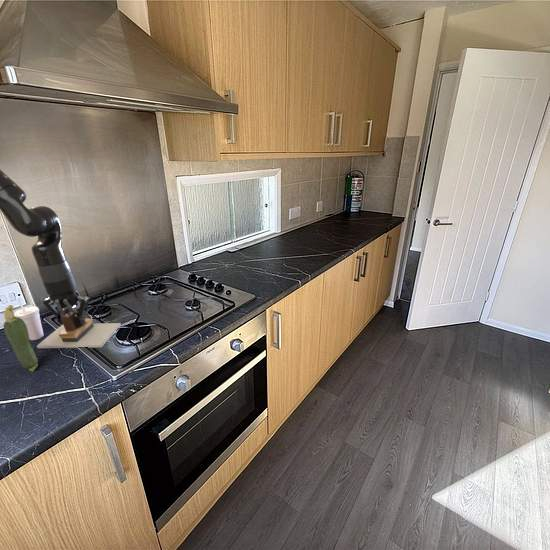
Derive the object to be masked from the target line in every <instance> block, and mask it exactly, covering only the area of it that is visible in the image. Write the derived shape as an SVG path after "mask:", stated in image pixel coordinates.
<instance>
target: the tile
mask: <svg viewBox="0 0 550 550" xmlns="http://www.w3.org/2000/svg"><path fill="white" fill-rule="evenodd" d="M93 325H94V327H92V328H91V329H90V330H89V331H88V332H87V333H86V334H85V335H84V336H83V337H82V338H81V339H80V340H79V341H78V342H63V341H62V338H60V336H59V334H60V333H61V332H62V331H64V330H65V328H64V325H63V324H62V325H60V326H59V327H58V328H56V329H55V330H54V331H52V332H51V333H50V334H49V335H48V336H46V337H45V338H44V339H43V340H42V341H41V342H39V343H38V344H37V345H36V348H37V349H78V348H77V347H88V348H89V349H91V348H95V349H97V348H103V347H104V345H105V344H106V343H107V342H108V341H109V340H110V339H111V338H112V337H113V335H114V334H116V332H117V331H118V330H119V329H120V328H121V326H122V323H121V322H110V323H109V322H107V323H106V322H104V323H103V322H102V323H100V322H99V323H97V322H96V323H95V322H93ZM118 328H119V329H118ZM117 329H118V330H117ZM116 330H117V331H116ZM88 348H87V349H88Z"/></svg>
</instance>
